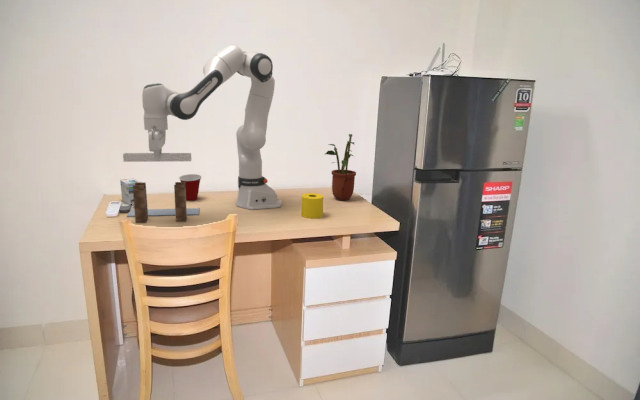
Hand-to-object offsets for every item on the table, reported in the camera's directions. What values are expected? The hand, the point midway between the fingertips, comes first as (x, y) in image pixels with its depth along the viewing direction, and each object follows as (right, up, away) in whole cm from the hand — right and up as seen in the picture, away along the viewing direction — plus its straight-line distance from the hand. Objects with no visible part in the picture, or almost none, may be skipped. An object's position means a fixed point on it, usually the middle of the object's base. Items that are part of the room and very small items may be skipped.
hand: (158, 159), depth 172 cm
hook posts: (-1, -26, +7) cm, 27 cm away
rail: (0, -1, 0) cm, 1 cm away
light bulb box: (-24, -18, +30) cm, 43 cm away
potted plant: (+76, -17, +52) cm, 94 cm away
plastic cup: (+1, -17, +39) cm, 43 cm away
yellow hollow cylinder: (+63, -24, +23) cm, 71 cm away
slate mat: (-3, -23, +16) cm, 28 cm away
